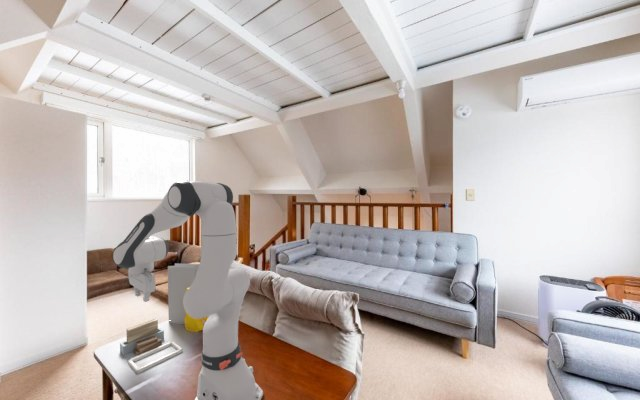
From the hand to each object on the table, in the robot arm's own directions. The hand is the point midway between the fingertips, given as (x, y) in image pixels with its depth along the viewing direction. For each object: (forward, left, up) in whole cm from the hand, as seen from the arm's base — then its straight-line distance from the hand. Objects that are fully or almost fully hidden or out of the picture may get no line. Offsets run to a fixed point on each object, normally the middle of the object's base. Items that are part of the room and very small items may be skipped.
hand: (142, 298), depth 109 cm
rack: (-3, 0, -21) cm, 22 cm away
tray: (-14, 0, -21) cm, 26 cm away
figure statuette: (-5, -20, -22) cm, 30 cm away
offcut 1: (-5, 0, -18) cm, 19 cm away
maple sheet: (0, 0, -20) cm, 20 cm away
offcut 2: (-6, 0, -19) cm, 20 cm away
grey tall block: (+7, -21, -22) cm, 31 cm away
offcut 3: (-6, 0, -20) cm, 21 cm away
